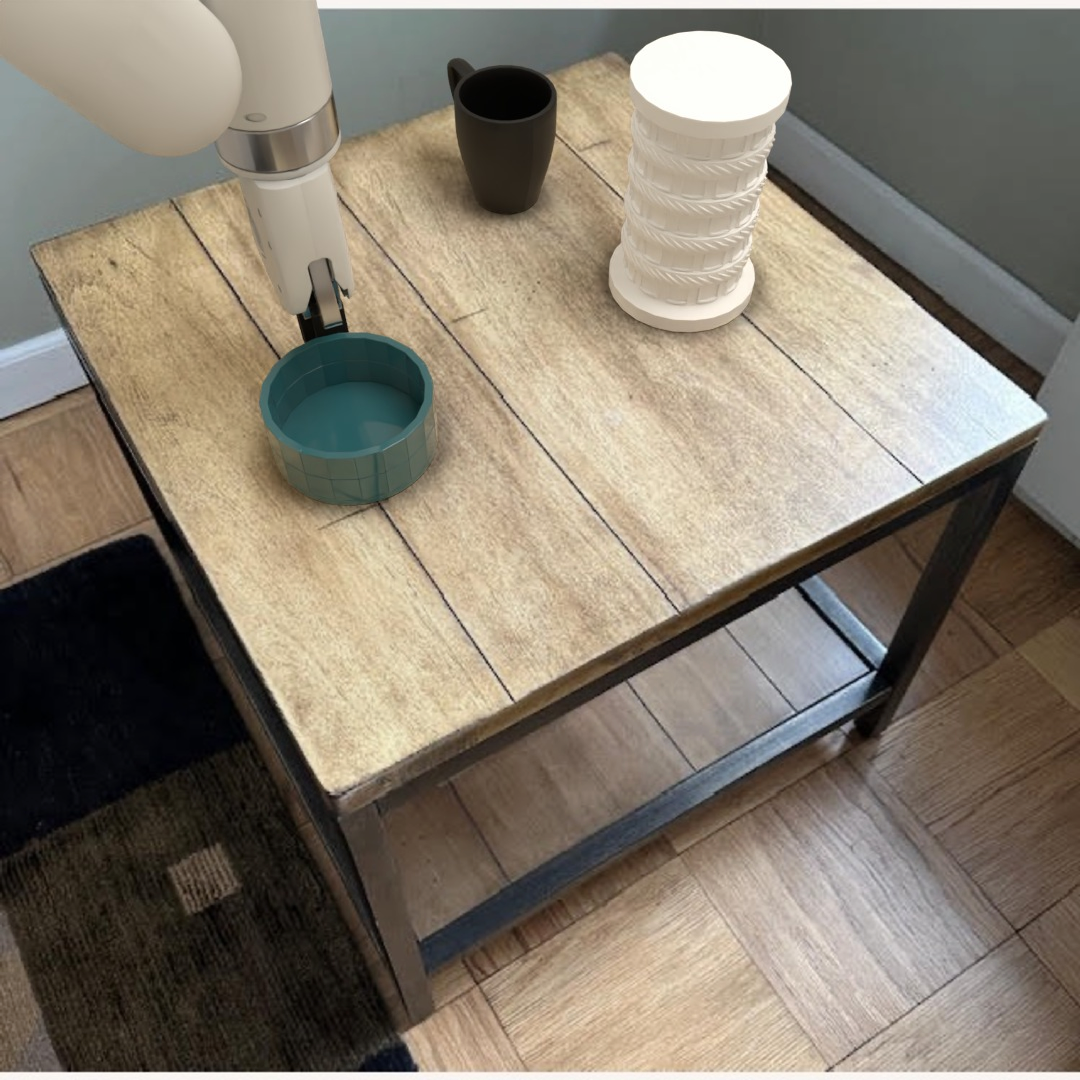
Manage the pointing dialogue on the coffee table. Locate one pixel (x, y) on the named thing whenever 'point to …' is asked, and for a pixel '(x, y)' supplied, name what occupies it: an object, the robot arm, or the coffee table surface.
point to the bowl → (350, 417)
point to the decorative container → (696, 177)
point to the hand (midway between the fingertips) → (327, 341)
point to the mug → (503, 131)
